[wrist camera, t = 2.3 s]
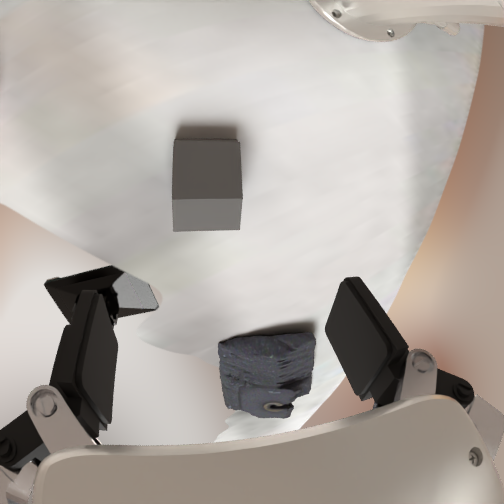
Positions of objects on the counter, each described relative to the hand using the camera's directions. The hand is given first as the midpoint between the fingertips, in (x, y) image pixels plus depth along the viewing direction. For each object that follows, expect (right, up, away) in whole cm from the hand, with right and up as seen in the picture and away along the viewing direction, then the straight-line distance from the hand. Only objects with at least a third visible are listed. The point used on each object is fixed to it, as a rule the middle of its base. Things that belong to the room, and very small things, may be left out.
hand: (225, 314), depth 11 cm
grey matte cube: (-3, +9, +13) cm, 16 cm away
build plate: (-16, -2, +18) cm, 24 cm away
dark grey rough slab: (+4, -16, +32) cm, 36 cm away
